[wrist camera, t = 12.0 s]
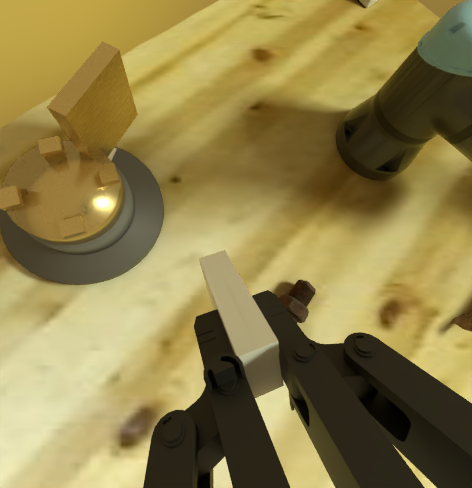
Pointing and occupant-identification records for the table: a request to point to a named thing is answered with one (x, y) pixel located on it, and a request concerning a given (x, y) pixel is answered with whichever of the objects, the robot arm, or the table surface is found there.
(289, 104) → the table surface
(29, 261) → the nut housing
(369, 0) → the mechanical component
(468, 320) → the wood plank
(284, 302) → the bolt
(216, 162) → the table surface
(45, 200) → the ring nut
